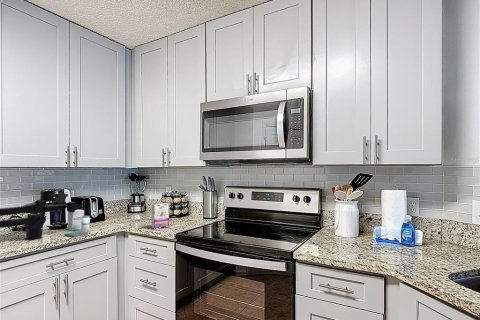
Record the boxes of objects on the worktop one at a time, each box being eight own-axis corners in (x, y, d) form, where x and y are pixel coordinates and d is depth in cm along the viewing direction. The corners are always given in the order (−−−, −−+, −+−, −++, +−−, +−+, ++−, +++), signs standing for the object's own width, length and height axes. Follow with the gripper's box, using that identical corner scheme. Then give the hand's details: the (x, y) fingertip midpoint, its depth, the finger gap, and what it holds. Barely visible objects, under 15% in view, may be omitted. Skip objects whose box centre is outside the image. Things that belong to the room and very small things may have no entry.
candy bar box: (166, 226, 194) (166, 203, 195) (169, 227, 190) (169, 203, 191) (150, 228, 187) (151, 204, 188) (153, 229, 183) (154, 205, 184)
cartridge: (84, 232, 174) (84, 216, 174) (79, 231, 176) (79, 216, 176) (91, 230, 178) (91, 215, 178) (86, 230, 180) (86, 215, 181)
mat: (73, 237, 161) (73, 235, 161) (64, 235, 165) (64, 233, 165) (88, 234, 169) (88, 232, 169) (79, 232, 173) (79, 230, 173)
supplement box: (71, 230, 178) (72, 211, 179) (67, 229, 183) (67, 210, 183) (83, 228, 184) (84, 210, 185) (79, 227, 189) (79, 209, 189)
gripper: (62, 194, 163) (87, 193, 177) (45, 192, 172) (70, 191, 185) (60, 213, 162) (86, 211, 176) (43, 210, 171) (69, 208, 185)
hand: (77, 205), depth 181 cm, fingers open, 9 cm apart
